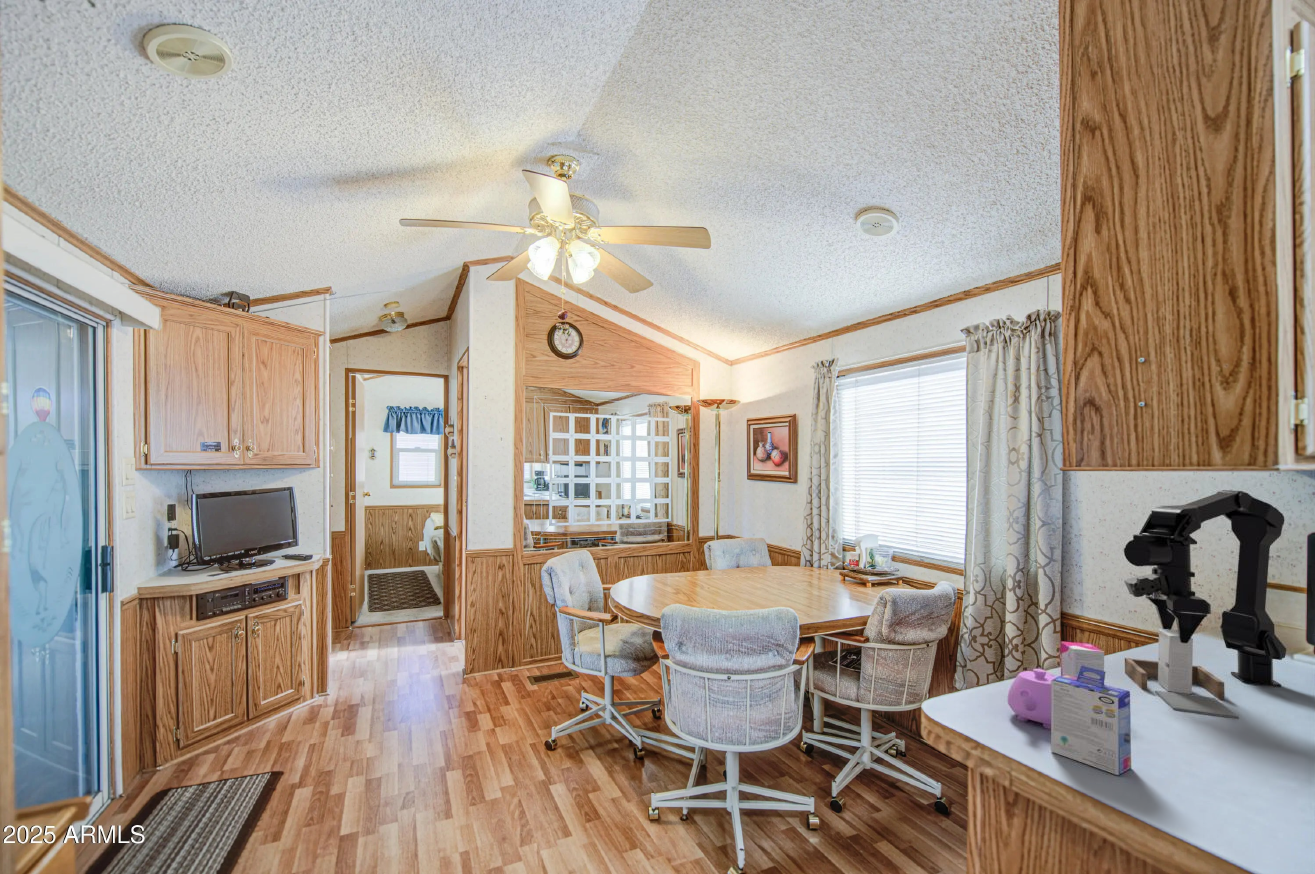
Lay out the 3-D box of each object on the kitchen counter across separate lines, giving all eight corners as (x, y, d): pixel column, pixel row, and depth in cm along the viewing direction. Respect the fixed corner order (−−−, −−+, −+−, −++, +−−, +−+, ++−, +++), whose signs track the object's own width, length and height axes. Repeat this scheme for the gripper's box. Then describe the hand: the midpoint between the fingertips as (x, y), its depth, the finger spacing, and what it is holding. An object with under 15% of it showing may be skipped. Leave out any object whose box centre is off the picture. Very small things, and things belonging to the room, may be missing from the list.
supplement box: (1106, 709, 120) (1105, 651, 120) (1072, 707, 121) (1071, 648, 121) (1091, 698, 125) (1090, 642, 126) (1059, 696, 126) (1058, 640, 127)
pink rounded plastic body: (1084, 720, 115) (1083, 670, 115) (1055, 742, 105) (1054, 688, 106) (1023, 702, 123) (1023, 656, 123) (992, 722, 113) (991, 671, 114)
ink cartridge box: (1133, 767, 97) (1132, 675, 97) (1121, 777, 93) (1119, 682, 94) (1063, 743, 105) (1062, 658, 105) (1050, 752, 101) (1049, 664, 102)
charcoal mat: (1154, 692, 129) (1154, 690, 129) (1214, 699, 125) (1214, 697, 125) (1173, 709, 120) (1173, 707, 120) (1238, 718, 116) (1238, 716, 116)
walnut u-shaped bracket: (1124, 672, 141) (1124, 657, 141) (1201, 682, 136) (1200, 666, 136) (1141, 688, 131) (1141, 672, 131) (1224, 699, 126) (1224, 682, 126)
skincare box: (1156, 682, 135) (1155, 627, 136) (1182, 685, 134) (1181, 629, 134) (1168, 692, 130) (1167, 634, 130) (1194, 695, 128) (1193, 637, 128)
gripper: (1115, 556, 144) (1116, 622, 144) (1143, 568, 127) (1145, 644, 126) (1173, 559, 140) (1175, 627, 139) (1211, 573, 123) (1213, 651, 122)
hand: (1175, 636), depth 132 cm, fingers open, 9 cm apart
